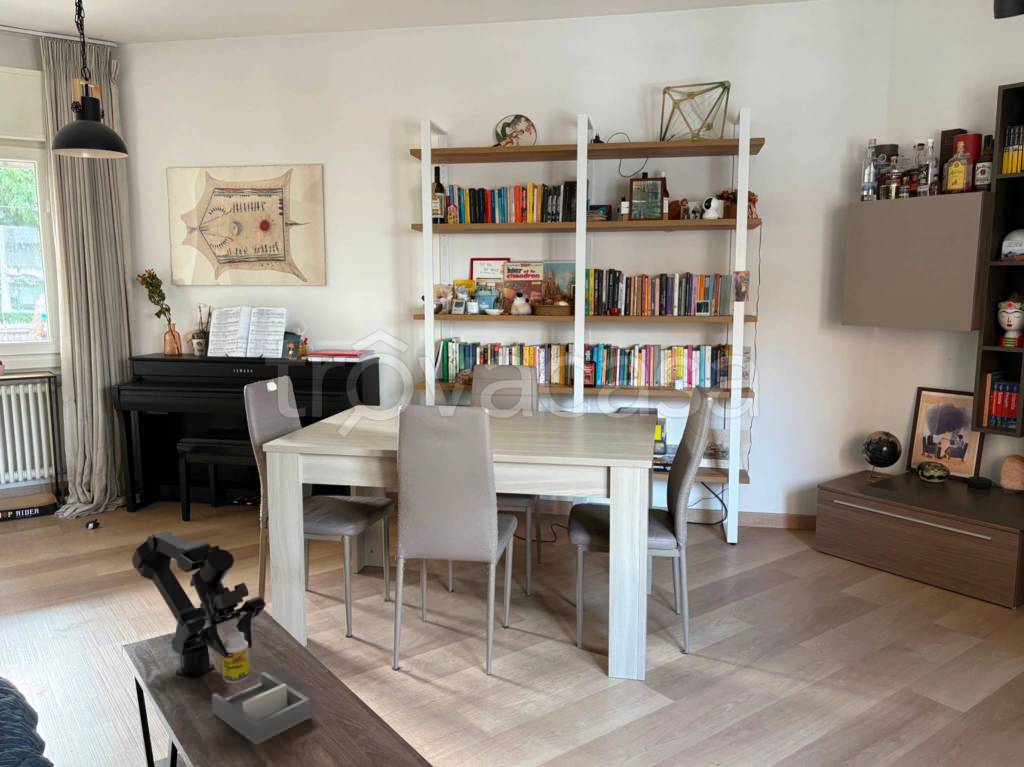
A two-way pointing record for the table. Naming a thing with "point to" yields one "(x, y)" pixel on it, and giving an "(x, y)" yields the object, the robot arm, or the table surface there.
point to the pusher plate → (266, 702)
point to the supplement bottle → (236, 658)
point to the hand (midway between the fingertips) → (238, 652)
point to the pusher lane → (266, 726)
